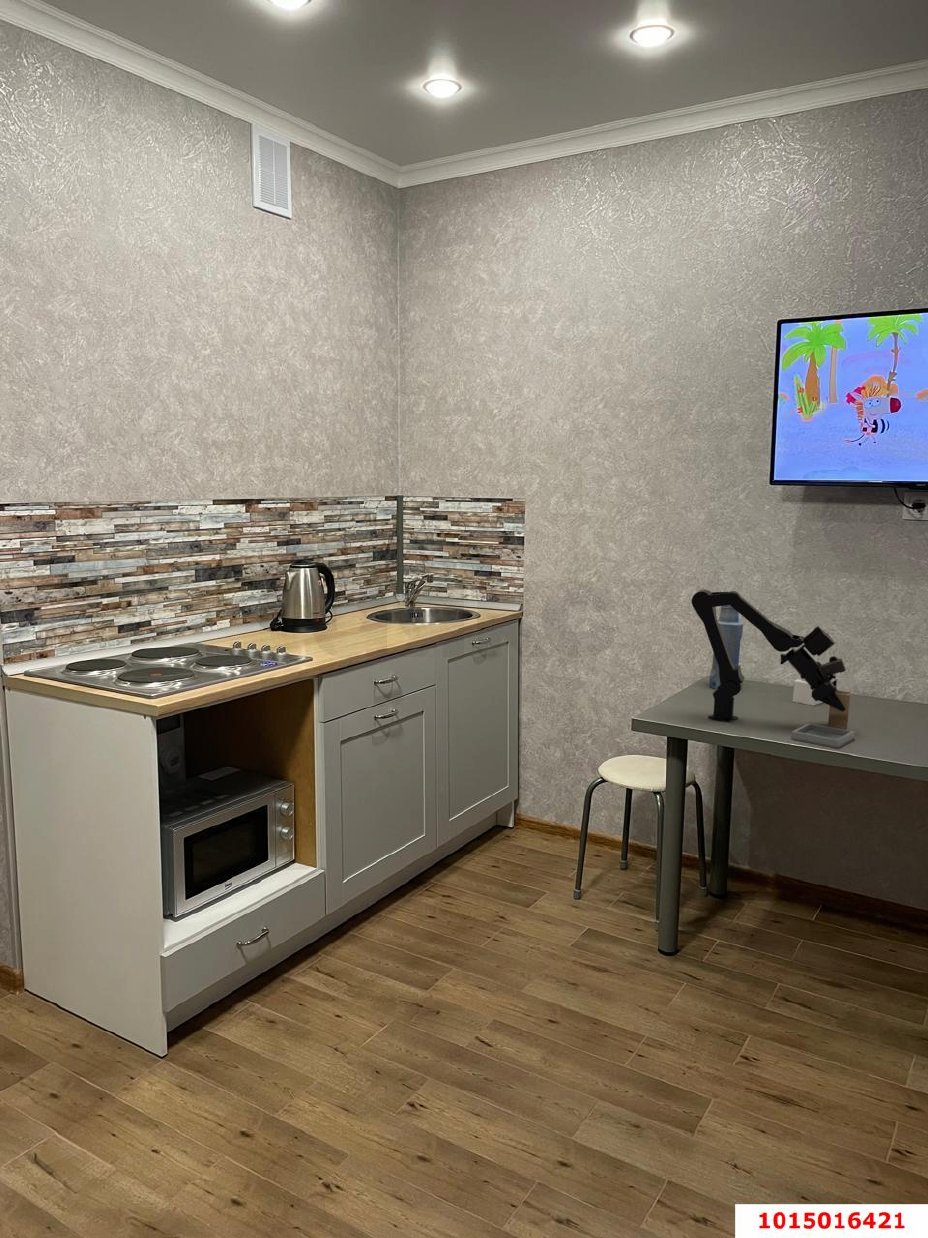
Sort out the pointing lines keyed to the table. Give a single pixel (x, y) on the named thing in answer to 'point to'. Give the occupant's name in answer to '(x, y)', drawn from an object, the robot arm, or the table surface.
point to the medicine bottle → (803, 693)
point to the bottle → (728, 640)
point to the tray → (823, 735)
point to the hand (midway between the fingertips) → (844, 708)
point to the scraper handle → (840, 712)
